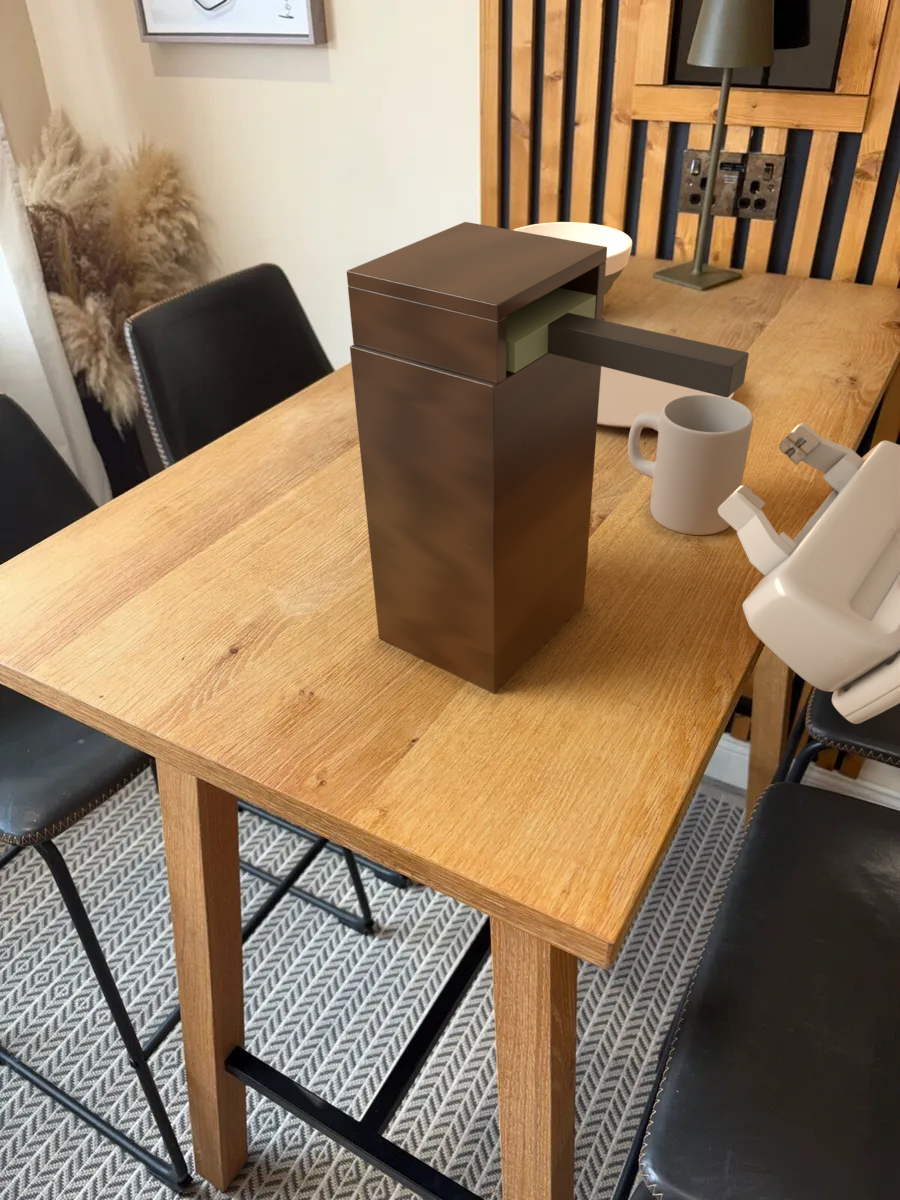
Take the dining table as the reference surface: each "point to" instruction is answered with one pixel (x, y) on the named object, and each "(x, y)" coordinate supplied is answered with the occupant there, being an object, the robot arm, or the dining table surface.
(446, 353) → the stand
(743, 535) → the robot arm
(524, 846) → the dining table surface
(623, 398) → the plate
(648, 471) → the mug
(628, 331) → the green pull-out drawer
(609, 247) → the bowl
